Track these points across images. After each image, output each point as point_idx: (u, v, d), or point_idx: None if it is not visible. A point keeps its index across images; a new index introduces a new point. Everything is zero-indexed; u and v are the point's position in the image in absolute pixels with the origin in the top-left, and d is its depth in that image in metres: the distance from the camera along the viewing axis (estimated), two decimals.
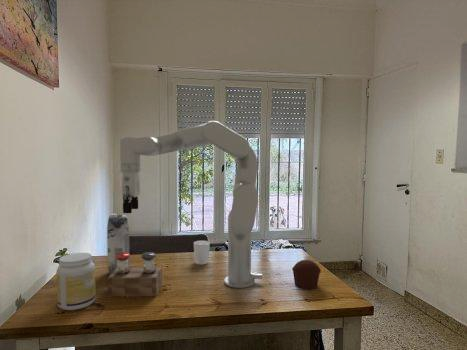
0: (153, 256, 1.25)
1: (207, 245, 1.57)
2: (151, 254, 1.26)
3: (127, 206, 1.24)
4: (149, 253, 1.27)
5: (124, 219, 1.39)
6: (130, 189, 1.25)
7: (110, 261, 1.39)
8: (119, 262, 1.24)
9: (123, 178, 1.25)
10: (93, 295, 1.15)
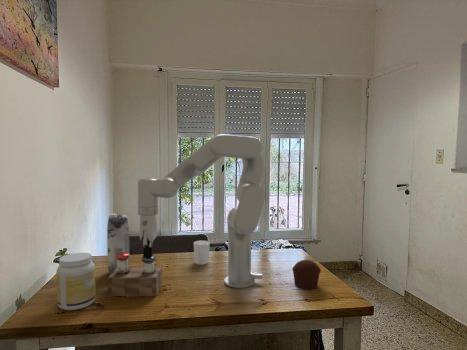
0: (153, 259, 1.25)
1: (207, 245, 1.57)
2: (151, 257, 1.26)
3: (148, 251, 1.25)
4: None
5: (124, 219, 1.39)
6: (148, 233, 1.21)
7: (110, 261, 1.39)
8: (119, 262, 1.24)
9: (141, 222, 1.21)
10: (93, 295, 1.15)
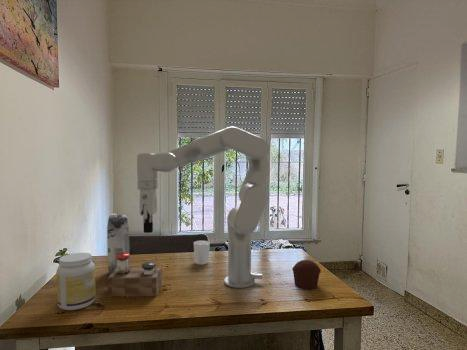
0: (153, 266, 1.25)
1: (207, 245, 1.57)
2: (151, 263, 1.27)
3: (148, 226, 1.24)
4: (149, 263, 1.27)
5: (124, 219, 1.39)
6: (148, 207, 1.20)
7: (110, 261, 1.39)
8: (119, 262, 1.24)
9: (141, 196, 1.20)
10: (93, 295, 1.15)
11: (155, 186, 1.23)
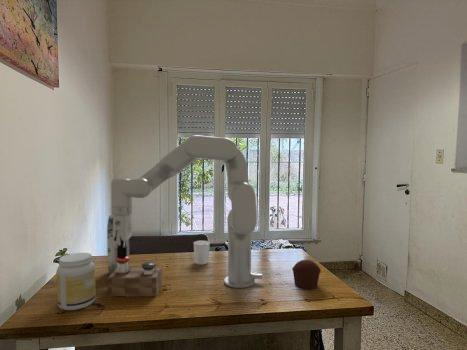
0: (153, 266, 1.25)
1: (207, 245, 1.57)
2: (151, 263, 1.27)
3: (121, 251, 1.24)
4: (149, 263, 1.27)
5: None
6: (121, 233, 1.20)
7: (110, 261, 1.39)
8: (119, 265, 1.24)
9: (114, 222, 1.21)
10: (93, 295, 1.15)
11: (129, 212, 1.23)
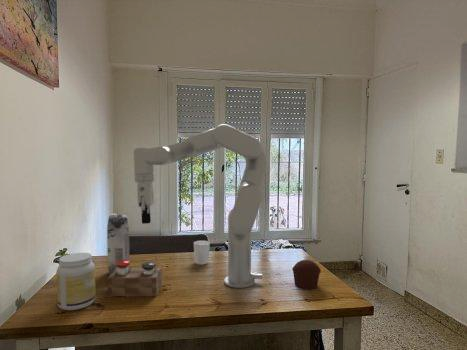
0: (153, 266, 1.25)
1: (207, 245, 1.57)
2: (151, 263, 1.27)
3: (146, 217, 1.30)
4: (149, 263, 1.27)
5: (124, 219, 1.39)
6: (146, 199, 1.26)
7: (110, 261, 1.39)
8: (119, 270, 1.24)
9: (138, 188, 1.27)
10: (93, 295, 1.15)
11: (152, 179, 1.30)
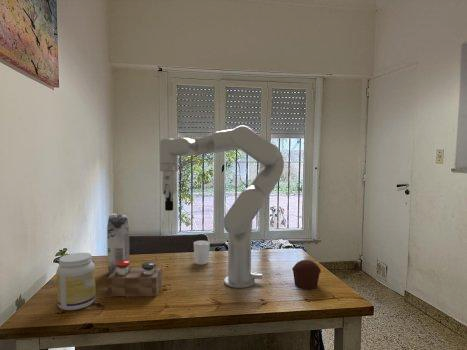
0: (153, 266, 1.25)
1: (207, 245, 1.57)
2: (151, 263, 1.27)
3: (169, 204, 1.38)
4: (149, 263, 1.27)
5: (124, 219, 1.39)
6: (170, 187, 1.34)
7: (110, 261, 1.39)
8: (119, 270, 1.24)
9: (163, 177, 1.34)
10: (93, 295, 1.15)
11: (176, 168, 1.37)
